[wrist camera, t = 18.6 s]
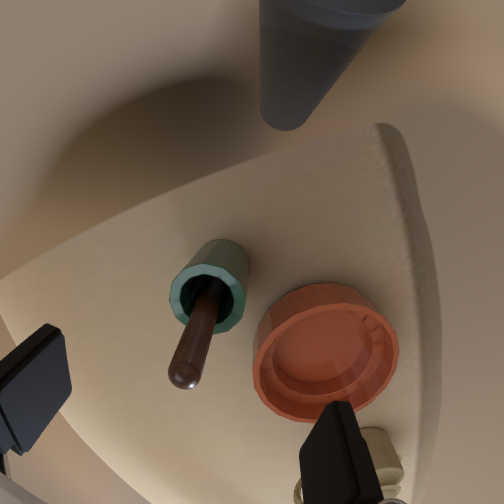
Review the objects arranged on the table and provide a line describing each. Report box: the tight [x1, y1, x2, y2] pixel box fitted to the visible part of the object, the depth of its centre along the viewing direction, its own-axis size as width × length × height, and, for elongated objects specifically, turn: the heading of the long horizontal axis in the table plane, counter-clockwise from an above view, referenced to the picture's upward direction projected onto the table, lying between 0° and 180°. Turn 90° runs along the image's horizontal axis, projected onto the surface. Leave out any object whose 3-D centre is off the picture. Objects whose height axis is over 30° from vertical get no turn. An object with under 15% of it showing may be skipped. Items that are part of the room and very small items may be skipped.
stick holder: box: [169, 239, 250, 335], centre depth 25 cm, size 5×5×9 cm
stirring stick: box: [168, 275, 226, 389], centre depth 21 cm, size 2×2×16 cm
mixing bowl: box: [252, 283, 399, 423], centre depth 28 cm, size 14×14×6 cm
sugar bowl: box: [294, 428, 404, 504], centre depth 28 cm, size 15×11×15 cm
